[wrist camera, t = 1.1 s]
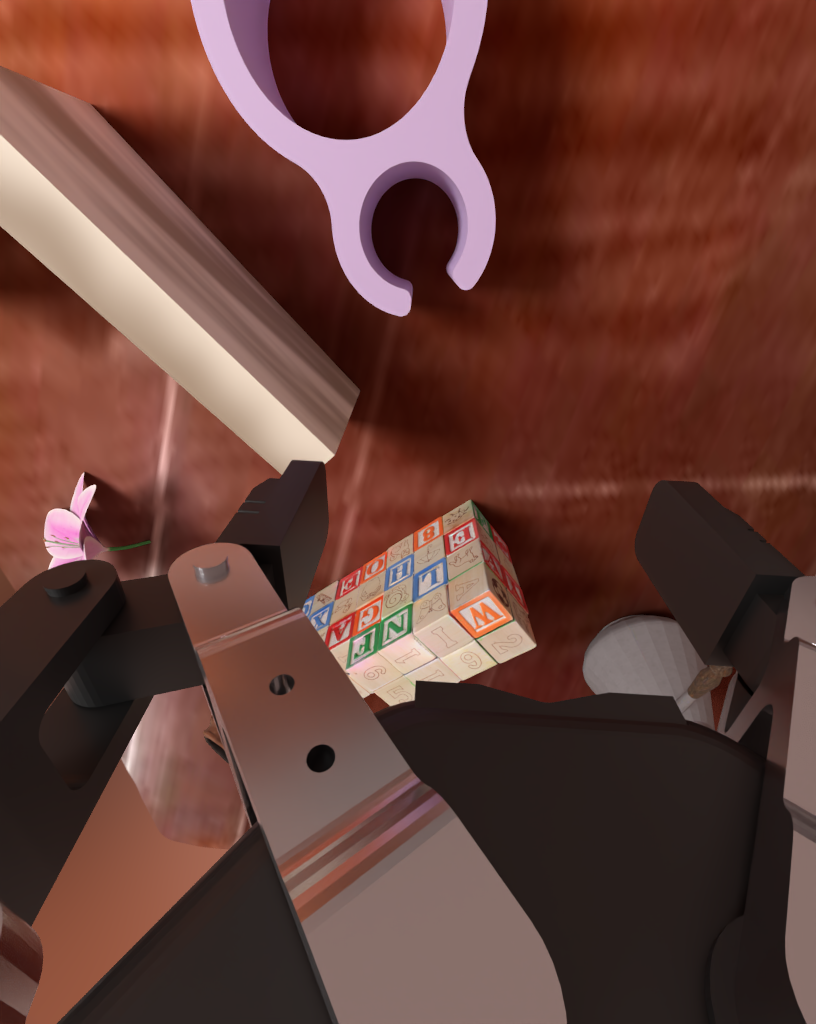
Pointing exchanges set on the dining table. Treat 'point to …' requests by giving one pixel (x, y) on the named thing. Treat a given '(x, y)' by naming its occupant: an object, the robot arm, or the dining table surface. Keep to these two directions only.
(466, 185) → the clip
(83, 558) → the lily
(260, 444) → the board
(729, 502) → the dining table surface
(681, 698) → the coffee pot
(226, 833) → the dining table surface
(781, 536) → the dining table surface
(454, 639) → the stack of blocks
